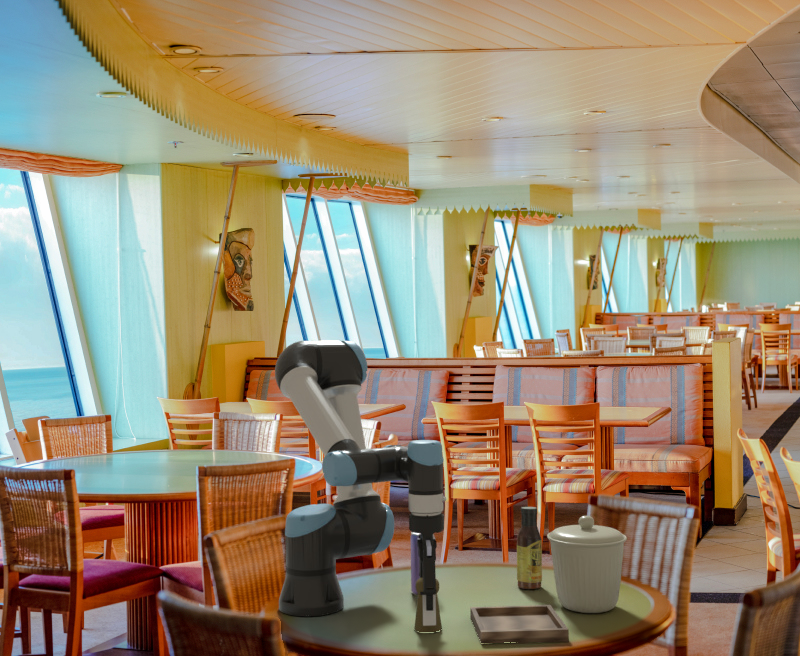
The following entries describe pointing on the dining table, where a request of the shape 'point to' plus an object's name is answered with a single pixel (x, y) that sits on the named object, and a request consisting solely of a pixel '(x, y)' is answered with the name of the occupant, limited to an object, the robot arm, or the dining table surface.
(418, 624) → the brown tapered upright piece
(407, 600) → the dining table surface
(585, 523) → the canister
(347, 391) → the robot arm
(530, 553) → the sauce bottle
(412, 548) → the beverage can
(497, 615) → the tray
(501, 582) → the dining table surface
